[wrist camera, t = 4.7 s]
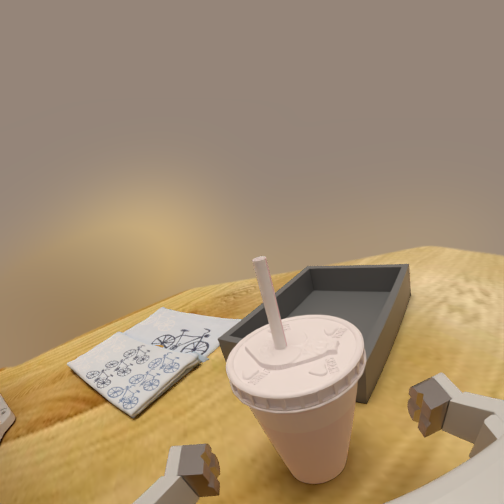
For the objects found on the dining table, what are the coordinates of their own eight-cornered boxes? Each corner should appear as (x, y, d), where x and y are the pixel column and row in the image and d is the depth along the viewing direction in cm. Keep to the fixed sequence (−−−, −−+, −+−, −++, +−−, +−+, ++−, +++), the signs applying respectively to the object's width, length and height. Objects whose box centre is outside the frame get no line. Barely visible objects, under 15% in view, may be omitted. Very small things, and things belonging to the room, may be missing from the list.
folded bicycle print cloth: (70, 372, 33) (63, 359, 33) (166, 312, 49) (162, 301, 48) (135, 427, 22) (124, 411, 21) (256, 324, 37) (252, 310, 37)
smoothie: (286, 424, 19) (234, 244, 16) (372, 426, 16) (357, 225, 13) (254, 493, 13) (159, 297, 10) (358, 504, 11) (347, 283, 7)
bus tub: (229, 371, 28) (217, 338, 27) (312, 292, 41) (307, 266, 40) (366, 403, 19) (365, 364, 18) (410, 294, 32) (409, 264, 31)
